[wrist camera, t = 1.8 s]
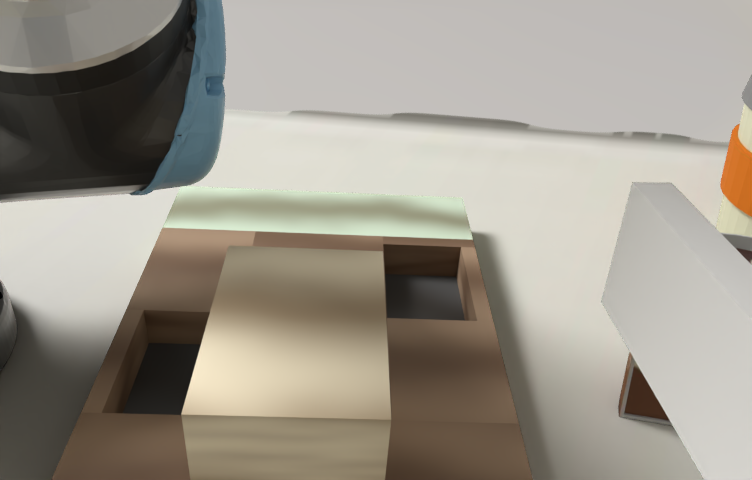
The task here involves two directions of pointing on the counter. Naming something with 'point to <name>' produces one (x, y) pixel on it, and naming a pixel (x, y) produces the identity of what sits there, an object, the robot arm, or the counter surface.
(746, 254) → the food container
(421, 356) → the board
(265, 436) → the block
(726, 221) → the reusable coffee cup
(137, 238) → the counter surface
